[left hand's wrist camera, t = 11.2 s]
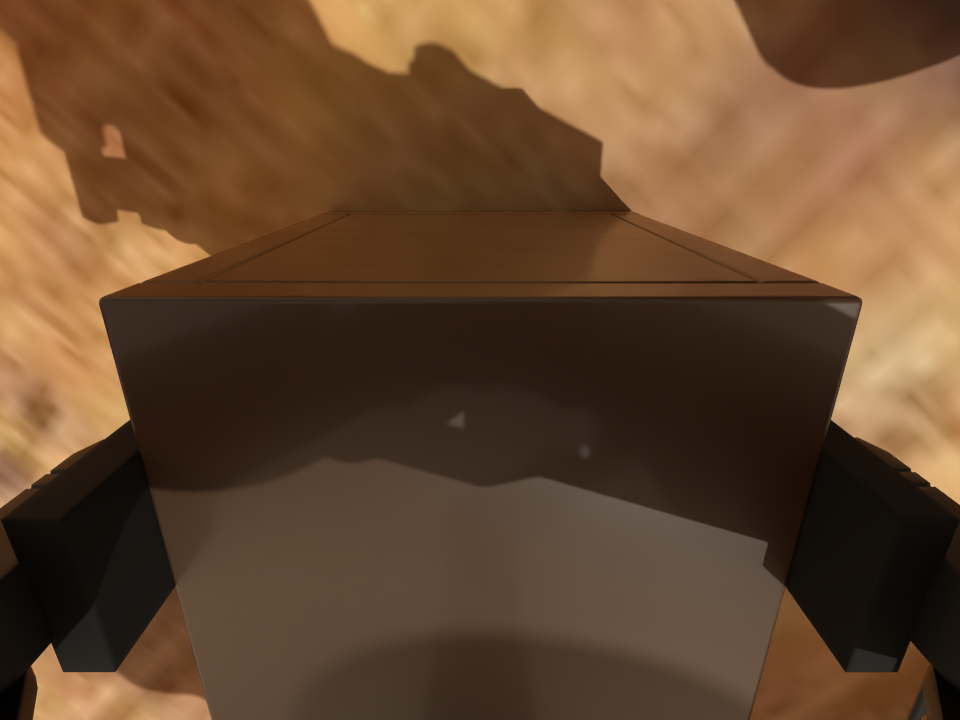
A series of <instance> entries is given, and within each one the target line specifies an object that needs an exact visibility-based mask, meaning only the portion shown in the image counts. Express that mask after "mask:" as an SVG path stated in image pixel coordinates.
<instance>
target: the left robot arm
mask: <svg viewBox="0 0 960 720" xmlns="http://www.w3.org/2000/svg"><path fill="white" fill-rule="evenodd" d="M174 587H175V582H174V578H173V575H172V571H171V567H170V564H169V560H168V556H167V553H166V549H165V545H164V542H163V538H162V534H161V530H160V527H159V523H158V519H157V516H156V512H155V508H154V505H153V501H152V497H151V493H150V490H149V486H148V482H147V479H146V475H145V471H144V468H143V464H142V460H141V457H140V453H139V449H138V445H137V442H136V438H135V434H134V431H133V427H132V423H131V420H129V421H128V422H127V423H125V424H124V425H123V426H121V427H120V428H119V429H118V430H116V431H115V432H114V433H112V434H111V435H110V436H108V437H107V438H106V439H103V440H101V441H99V442H97V443H95V444H93V445H91V446H89V447H87V448H85V449H83V450H80V451H78V452H76V453H74V454H73V455H71V456H70V457H69V458H67V459H66V460H65V461H63V462H62V463H61V464H59V465H58V466H57V467H55V468H54V469H52V470H51V473H50V474H46V475H44V476H43V477H42V478H40V479H39V480H38V481H36V482H35V483H34V484H32V487H31V489H26V490H24V491H23V492H22V493H20V494H19V495H18V496H16V497H15V498H14V499H12V500H11V501H10V502H8V503H7V504H6V505H4V506H3V507H2V508H0V720H33V714H34V708H35V702H36V696H37V689H38V687H37V682H36V676H35V674H34V672H33V670H32V667H31V665H32V664H33V663H34V662H35V660H36V659H37V658H38V657H39V656H40V655H41V654H42V652H43V651H44V650H45V649H46V648H47V647H48V646H49V644H50V643H52V646H53V648H54V651H55V653H56V655H57V658H58V660H59V663H60V665H61V668H62V670H63V672H115V671H116V670H117V669H118V667H119V666H120V664H121V663H122V661H123V660H124V659H125V657H126V656H127V654H128V653H129V651H130V650H131V649H132V647H133V646H134V644H135V643H136V641H137V640H138V639H139V637H140V636H141V634H142V633H143V631H144V630H145V629H146V627H147V626H148V624H149V623H150V621H151V620H152V619H153V617H154V616H155V614H156V613H157V611H158V610H159V609H160V607H161V606H162V604H163V603H164V601H165V600H166V599H167V597H168V596H169V594H170V593H171V591H172V590H173V589H174ZM786 588H787V589H788V591H789V592H790V593H791V595H792V596H793V598H794V599H795V601H796V602H797V603H798V605H799V606H800V608H801V609H802V611H803V612H804V613H805V615H806V616H807V618H808V619H809V621H810V622H811V623H812V625H813V626H814V628H815V629H816V631H817V632H818V633H819V635H820V636H821V638H822V639H823V641H824V642H825V643H826V645H827V646H828V648H829V649H830V651H831V652H832V653H833V655H834V656H835V658H836V659H837V661H838V662H839V663H840V665H841V666H842V668H843V669H844V671H845V672H898V670H899V667H900V665H901V662H902V660H903V657H904V655H905V653H906V650H907V648H908V645H909V643H910V641H911V642H912V643H913V644H914V645H915V646H916V647H917V649H918V650H919V651H920V652H921V653H922V654H923V655H924V657H925V658H926V659H927V660H928V661H929V662H930V665H929V667H928V670H927V672H926V674H925V676H924V679H923V681H922V683H921V686H920V688H919V690H918V692H917V695H916V697H915V699H914V701H913V704H912V706H911V708H910V711H909V713H908V718H907V720H920V719H921V717H922V716H924V715H926V714H927V718H928V720H960V505H959V504H958V503H956V502H955V501H954V500H952V499H951V498H949V497H948V496H947V495H945V494H944V493H943V492H941V491H940V490H939V489H937V488H936V487H931V486H930V483H929V482H928V481H927V480H925V479H924V478H922V477H921V476H920V475H918V474H917V473H916V472H911V469H910V468H909V467H908V466H906V465H905V464H904V463H902V462H901V461H899V460H898V459H897V458H895V457H894V456H893V455H891V454H890V453H889V452H887V451H885V450H883V449H881V448H878V447H876V446H874V445H872V444H870V443H868V442H866V441H864V440H862V439H860V438H854V437H852V436H851V435H850V434H848V433H847V432H846V431H844V430H843V429H842V428H841V427H839V426H838V425H837V424H835V423H834V422H833V421H831V420H830V424H829V428H828V431H827V435H826V439H825V443H824V446H823V450H822V454H821V457H820V461H819V465H818V468H817V472H816V476H815V479H814V483H813V487H812V491H811V494H810V498H809V502H808V505H807V509H806V513H805V516H804V520H803V524H802V527H801V531H800V535H799V538H798V542H797V546H796V550H795V553H794V557H793V561H792V564H791V568H790V572H789V575H788V579H787V583H786Z"/></svg>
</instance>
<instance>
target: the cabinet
mask: <svg viewBox="0 0 960 720" xmlns="http://www.w3.org/2000/svg"><path fill="white" fill-rule="evenodd" d="M99 305H100V309H101V312H102V316H103V320H104V324H105V327H106V331H107V335H108V338H109V342H110V346H111V349H112V353H113V357H114V360H115V364H116V368H117V372H118V375H119V379H120V383H121V386H122V390H123V394H124V397H125V401H126V405H127V409H128V412H129V416H130V420H131V423H132V427H133V431H134V434H135V438H136V442H137V445H138V449H139V453H140V457H141V460H142V464H143V468H144V471H145V475H146V479H147V482H148V486H149V490H150V493H151V497H152V501H153V505H154V508H155V512H156V516H157V519H158V523H159V527H160V530H161V534H162V538H163V542H164V545H165V549H166V553H167V556H168V560H169V564H170V567H171V571H172V575H173V578H174V582H175V586H176V590H177V593H178V597H179V601H180V604H181V608H182V612H183V615H184V619H185V623H186V627H187V630H188V634H189V638H190V641H191V645H192V649H193V652H194V656H195V660H196V663H197V667H198V671H199V675H200V678H201V682H202V686H203V689H204V693H205V697H206V700H207V704H208V708H209V712H210V715H211V719H212V720H749V719H750V715H751V712H752V708H753V704H754V701H755V697H756V693H757V690H758V686H759V682H760V679H761V675H762V671H763V668H764V664H765V660H766V656H767V653H768V649H769V645H770V642H771V638H772V634H773V631H774V627H775V623H776V620H777V616H778V612H779V609H780V605H781V601H782V597H783V594H784V590H785V586H786V583H787V579H788V575H789V572H790V568H791V564H792V561H793V557H794V553H795V550H796V546H797V542H798V538H799V535H800V531H801V527H802V524H803V520H804V516H805V513H806V509H807V505H808V502H809V498H810V494H811V491H812V487H813V483H814V479H815V476H816V472H817V468H818V465H819V461H820V457H821V454H822V450H823V446H824V443H825V439H826V435H827V431H828V428H829V424H830V420H831V417H832V413H833V409H834V406H835V402H836V398H837V395H838V391H839V387H840V384H841V380H842V376H843V372H844V369H845V365H846V361H847V358H848V354H849V350H850V347H851V343H852V339H853V336H854V332H855V328H856V325H857V321H858V317H859V313H860V310H861V306H862V300H861V298H859V297H857V296H855V295H852V294H849V293H847V292H844V291H841V290H839V289H836V288H833V287H831V286H828V285H825V284H823V283H819V282H817V281H815V280H812V279H810V278H807V277H804V276H802V275H799V274H796V273H794V272H791V271H788V270H786V269H783V268H780V267H778V266H775V265H772V264H770V263H767V262H764V261H762V260H759V259H756V258H754V257H751V256H748V255H746V254H743V253H740V252H738V251H735V250H732V249H730V248H727V247H724V246H722V245H719V244H717V243H714V242H711V241H709V240H706V239H703V238H701V237H698V236H695V235H693V234H690V233H687V232H685V231H682V230H679V229H677V228H674V227H671V226H669V225H666V224H663V223H661V222H658V221H655V220H653V219H650V218H647V217H645V216H642V215H640V214H638V213H635V212H632V211H329V212H326V213H324V214H322V215H319V216H317V217H314V218H311V219H309V220H306V221H303V222H301V223H298V224H295V225H293V226H290V227H287V228H285V229H282V230H279V231H277V232H274V233H271V234H269V235H266V236H263V237H261V238H258V239H255V240H253V241H250V242H247V243H245V244H242V245H239V246H237V247H234V248H232V249H229V250H226V251H224V252H221V253H218V254H216V255H213V256H210V257H208V258H205V259H202V260H200V261H197V262H194V263H192V264H189V265H186V266H184V267H181V268H178V269H176V270H173V271H170V272H168V273H165V274H162V275H160V276H157V277H154V278H152V279H149V280H146V281H144V282H142V283H138V284H136V285H133V286H130V287H128V288H125V289H122V290H120V291H117V292H114V293H112V294H109V295H106V296H104V297H102V298H101V299H100V300H99Z"/></svg>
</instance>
